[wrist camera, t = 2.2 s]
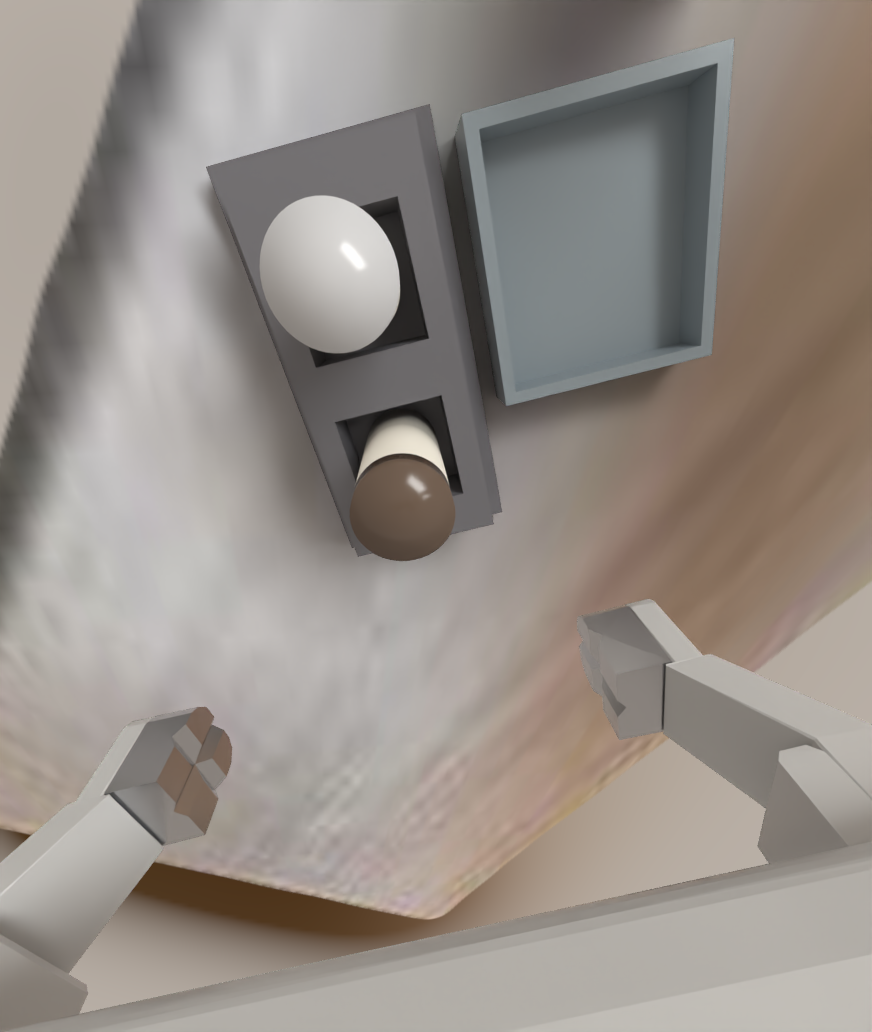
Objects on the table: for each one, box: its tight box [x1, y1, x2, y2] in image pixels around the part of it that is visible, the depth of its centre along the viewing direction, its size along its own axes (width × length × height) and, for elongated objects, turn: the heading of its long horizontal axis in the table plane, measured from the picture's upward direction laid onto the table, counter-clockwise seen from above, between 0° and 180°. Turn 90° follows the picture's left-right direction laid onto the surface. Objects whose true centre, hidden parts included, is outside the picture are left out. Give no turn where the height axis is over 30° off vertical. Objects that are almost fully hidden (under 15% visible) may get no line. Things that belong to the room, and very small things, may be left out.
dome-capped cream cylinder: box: [260, 195, 400, 353], centre depth 16 cm, size 4×4×10 cm
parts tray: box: [455, 38, 734, 406], centre depth 20 cm, size 11×12×2 cm
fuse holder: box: [206, 104, 502, 557], centre depth 22 cm, size 20×10×4 cm, turn 13°
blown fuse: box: [350, 408, 455, 561], centre depth 20 cm, size 4×4×10 cm
